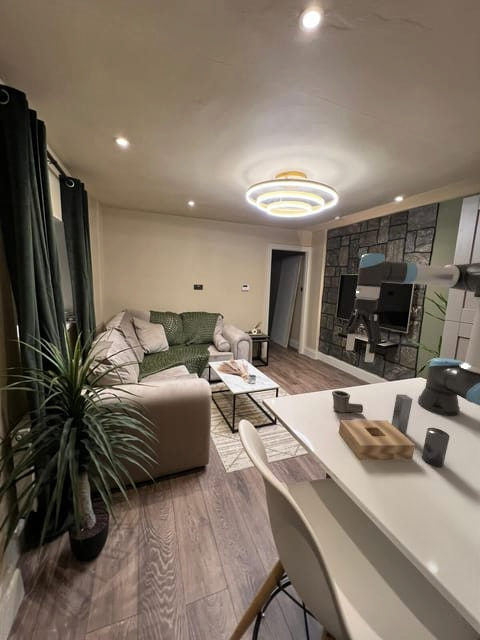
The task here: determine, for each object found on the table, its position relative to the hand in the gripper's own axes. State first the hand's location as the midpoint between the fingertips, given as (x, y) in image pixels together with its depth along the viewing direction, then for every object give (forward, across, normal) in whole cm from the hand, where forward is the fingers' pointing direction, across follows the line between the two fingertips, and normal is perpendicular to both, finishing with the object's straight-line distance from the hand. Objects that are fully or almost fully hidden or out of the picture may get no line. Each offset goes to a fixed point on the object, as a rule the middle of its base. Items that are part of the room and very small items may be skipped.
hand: (358, 355), depth 96 cm
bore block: (+28, +12, +2) cm, 31 cm away
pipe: (+28, -9, +3) cm, 30 cm away
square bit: (+28, +4, +17) cm, 33 cm away
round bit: (+28, +20, +17) cm, 39 cm away
